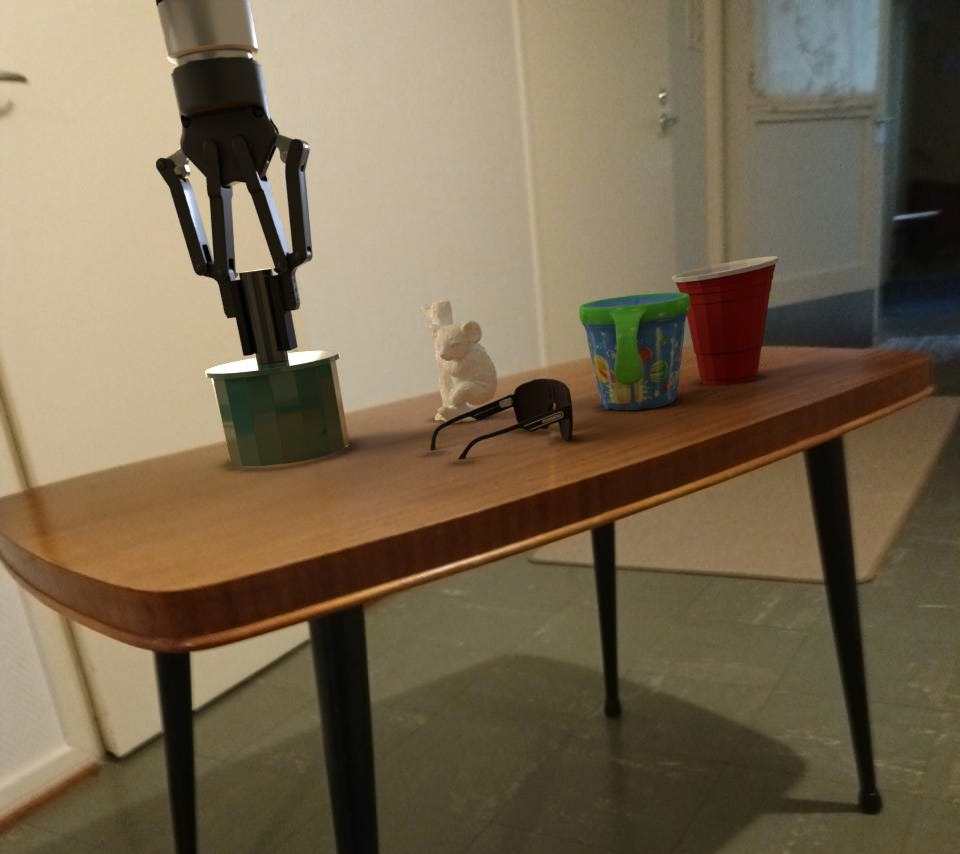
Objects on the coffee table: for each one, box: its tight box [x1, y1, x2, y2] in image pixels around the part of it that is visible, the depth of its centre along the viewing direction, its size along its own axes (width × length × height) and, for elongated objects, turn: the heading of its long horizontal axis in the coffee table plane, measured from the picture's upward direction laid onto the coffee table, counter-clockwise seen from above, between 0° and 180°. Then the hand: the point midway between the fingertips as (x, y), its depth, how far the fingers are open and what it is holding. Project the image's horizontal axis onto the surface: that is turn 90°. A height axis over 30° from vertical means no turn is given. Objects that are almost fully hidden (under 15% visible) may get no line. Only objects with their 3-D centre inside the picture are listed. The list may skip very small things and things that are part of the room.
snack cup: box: [578, 292, 690, 412], centre depth 96 cm, size 16×10×10 cm
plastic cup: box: [671, 255, 780, 386], centre depth 103 cm, size 11×11×12 cm
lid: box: [205, 267, 341, 380], centre depth 90 cm, size 12×12×9 cm
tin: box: [211, 360, 350, 467], centre depth 93 cm, size 11×11×8 cm
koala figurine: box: [420, 298, 498, 425], centre depth 100 cm, size 8×7×12 cm
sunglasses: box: [430, 377, 574, 460], centre depth 86 cm, size 10×12×5 cm
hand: (270, 351), depth 91 cm, fingers closed on lid, 3 cm apart
